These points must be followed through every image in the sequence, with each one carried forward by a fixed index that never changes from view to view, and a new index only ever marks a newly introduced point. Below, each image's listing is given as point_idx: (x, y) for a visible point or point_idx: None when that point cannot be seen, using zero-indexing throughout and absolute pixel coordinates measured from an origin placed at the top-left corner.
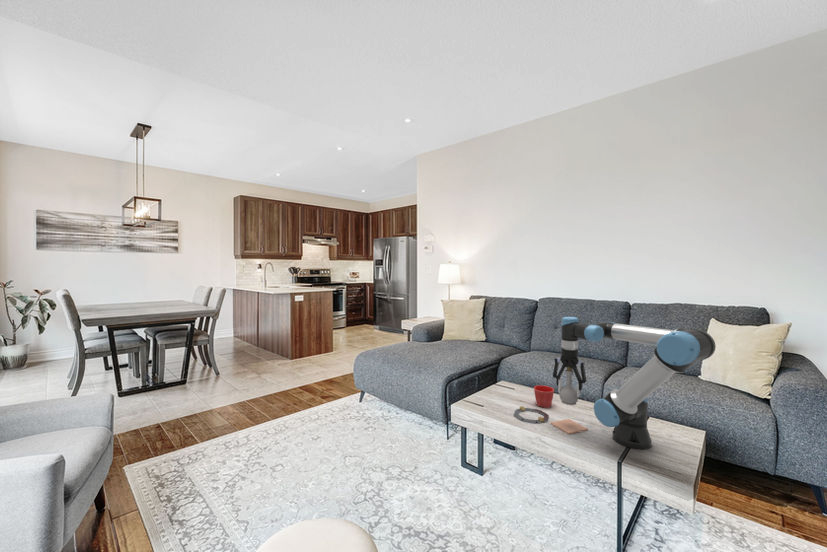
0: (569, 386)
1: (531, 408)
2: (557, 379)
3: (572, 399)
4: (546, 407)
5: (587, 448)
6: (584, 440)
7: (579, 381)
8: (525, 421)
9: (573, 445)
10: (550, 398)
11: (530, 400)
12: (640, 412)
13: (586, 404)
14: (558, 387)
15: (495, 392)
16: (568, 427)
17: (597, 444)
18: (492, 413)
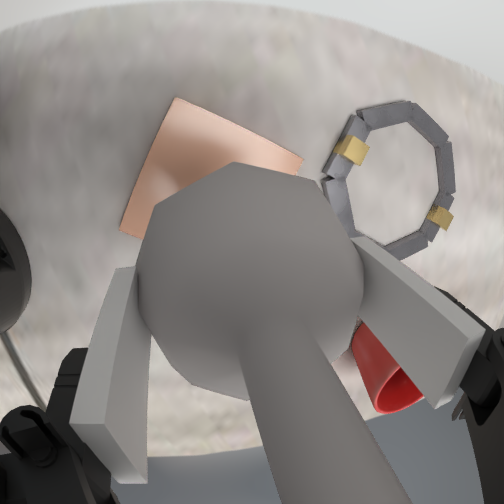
0: (266, 338)
1: (413, 253)
2: (496, 330)
3: (169, 198)
4: (363, 322)
5: (58, 33)
6: (89, 96)
7: (46, 478)
8: (397, 102)
9: (117, 7)
10: (370, 358)
11: None
12: None
13: (244, 438)
14: (405, 266)
15: (499, 295)
16: (202, 165)
17: (34, 109)
18: (491, 116)
